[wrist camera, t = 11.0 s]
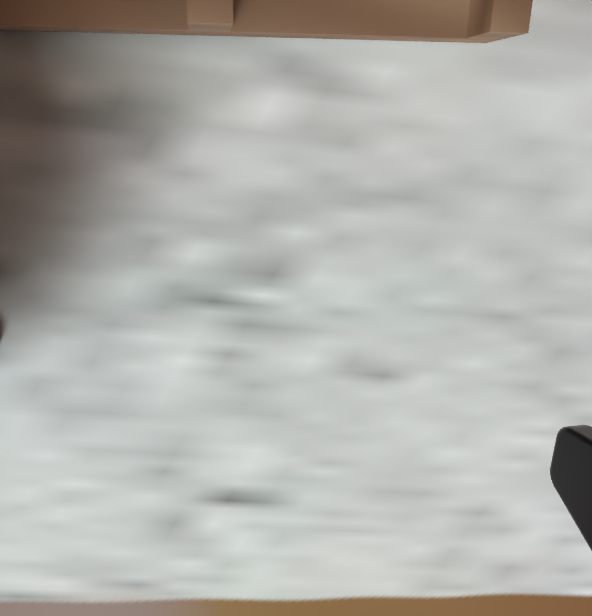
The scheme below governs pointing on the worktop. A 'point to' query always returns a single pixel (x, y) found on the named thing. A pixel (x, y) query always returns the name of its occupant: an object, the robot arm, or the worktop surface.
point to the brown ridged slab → (279, 18)
